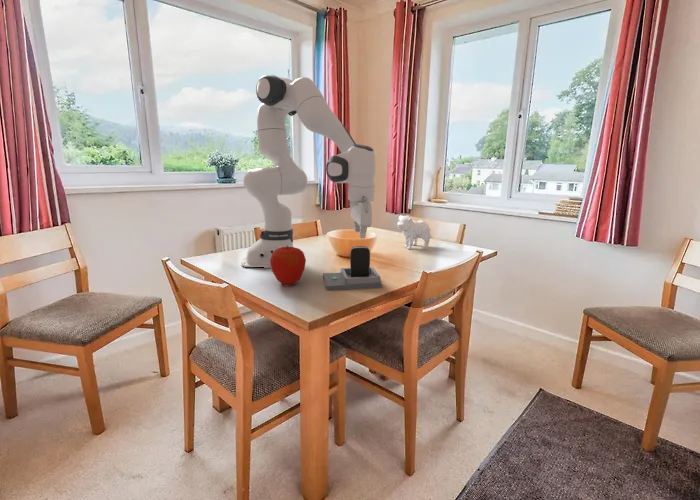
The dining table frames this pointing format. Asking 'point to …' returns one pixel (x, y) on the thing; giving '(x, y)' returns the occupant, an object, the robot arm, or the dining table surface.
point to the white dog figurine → (414, 231)
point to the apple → (288, 264)
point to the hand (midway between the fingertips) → (359, 234)
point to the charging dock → (351, 280)
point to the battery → (359, 261)
